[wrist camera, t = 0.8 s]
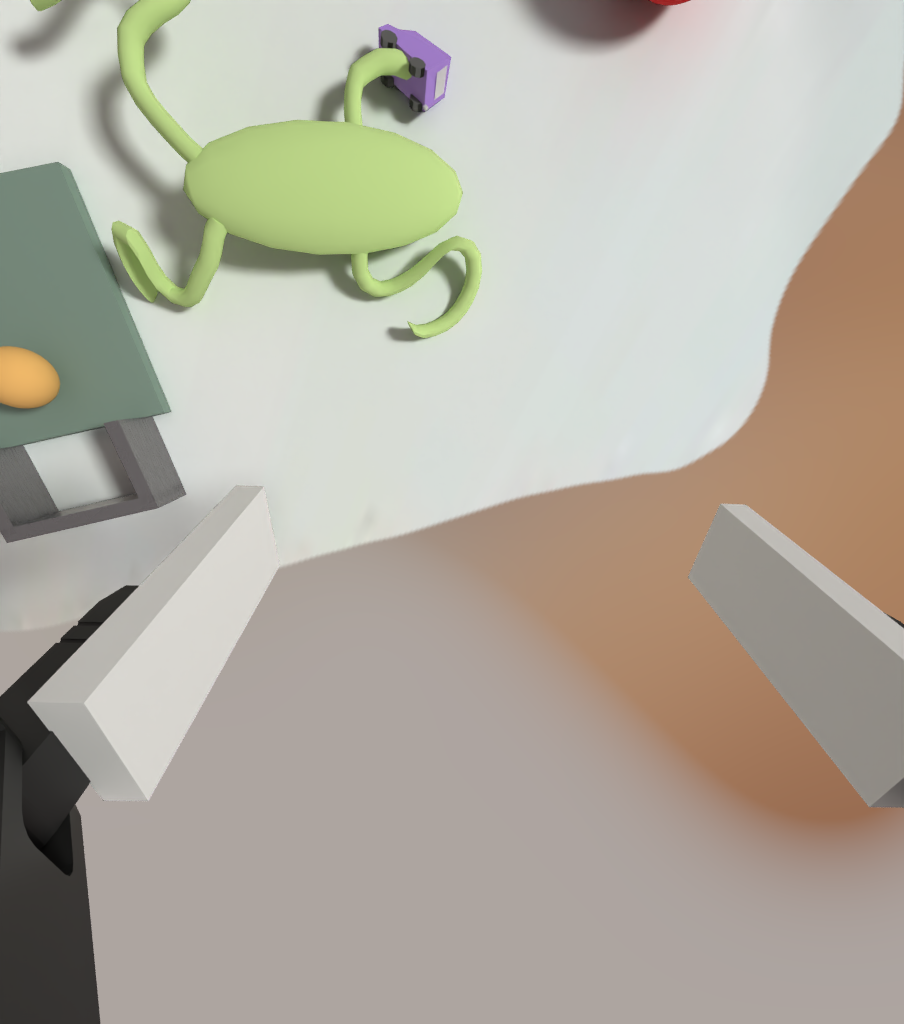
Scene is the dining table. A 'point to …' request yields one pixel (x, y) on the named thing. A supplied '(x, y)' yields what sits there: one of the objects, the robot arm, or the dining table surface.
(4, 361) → the ball
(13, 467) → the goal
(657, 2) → the ornament
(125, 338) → the mat
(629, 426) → the dining table surface
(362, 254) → the figurine
